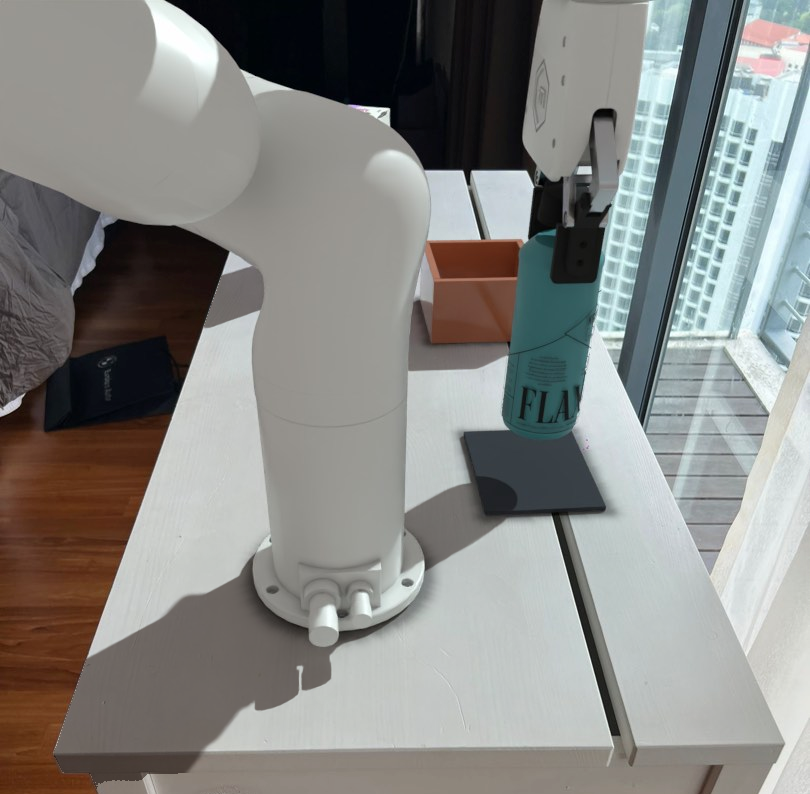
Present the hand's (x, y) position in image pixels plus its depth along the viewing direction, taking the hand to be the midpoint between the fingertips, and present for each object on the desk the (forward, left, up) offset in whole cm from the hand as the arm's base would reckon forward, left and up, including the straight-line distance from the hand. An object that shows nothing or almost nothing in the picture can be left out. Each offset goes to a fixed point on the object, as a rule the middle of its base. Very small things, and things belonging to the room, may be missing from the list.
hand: (560, 259), depth 61 cm
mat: (0, 0, -19) cm, 19 cm away
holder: (+30, 0, -19) cm, 35 cm away
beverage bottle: (0, 0, -15) cm, 15 cm away
